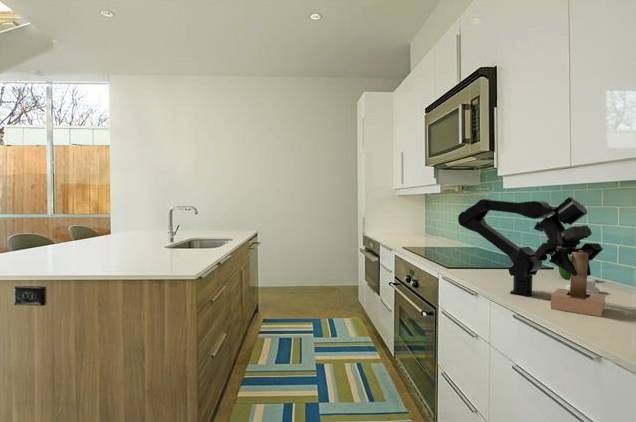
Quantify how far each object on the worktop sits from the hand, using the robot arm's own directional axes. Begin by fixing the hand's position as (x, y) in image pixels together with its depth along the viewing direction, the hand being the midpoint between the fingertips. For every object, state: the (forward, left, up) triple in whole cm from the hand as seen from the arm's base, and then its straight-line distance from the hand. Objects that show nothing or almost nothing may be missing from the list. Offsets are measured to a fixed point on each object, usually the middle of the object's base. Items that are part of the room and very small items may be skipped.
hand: (582, 275), depth 117 cm
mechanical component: (-31, -3, -10) cm, 33 cm away
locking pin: (-1, -1, -7) cm, 7 cm away
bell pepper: (-55, -10, -10) cm, 57 cm away
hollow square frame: (-1, -1, -10) cm, 10 cm away
